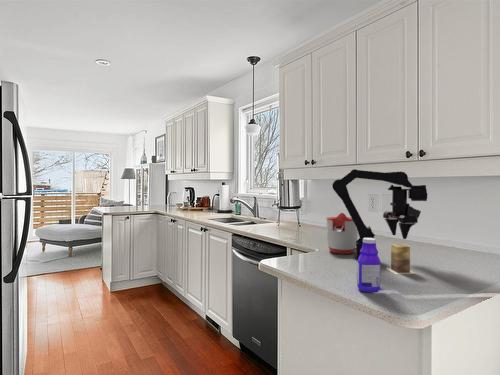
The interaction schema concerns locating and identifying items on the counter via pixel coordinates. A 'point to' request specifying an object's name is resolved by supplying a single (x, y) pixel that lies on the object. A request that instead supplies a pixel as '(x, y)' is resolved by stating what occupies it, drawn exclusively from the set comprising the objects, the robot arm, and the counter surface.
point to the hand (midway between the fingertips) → (399, 237)
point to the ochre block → (400, 251)
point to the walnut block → (400, 265)
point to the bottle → (368, 267)
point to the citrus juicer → (341, 234)
